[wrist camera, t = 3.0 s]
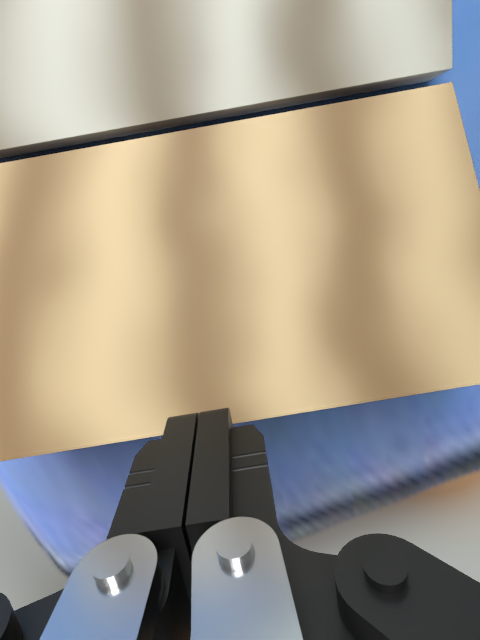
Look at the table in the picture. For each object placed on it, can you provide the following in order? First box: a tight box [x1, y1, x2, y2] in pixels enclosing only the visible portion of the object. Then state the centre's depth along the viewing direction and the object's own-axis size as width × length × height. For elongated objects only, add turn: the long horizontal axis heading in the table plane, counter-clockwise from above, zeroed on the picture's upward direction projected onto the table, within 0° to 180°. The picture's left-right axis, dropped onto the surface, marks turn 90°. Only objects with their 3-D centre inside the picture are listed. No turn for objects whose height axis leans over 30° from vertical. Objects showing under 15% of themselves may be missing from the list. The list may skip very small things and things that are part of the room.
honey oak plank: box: [0, 82, 480, 461], centre depth 17 cm, size 22×12×2 cm, turn 99°
